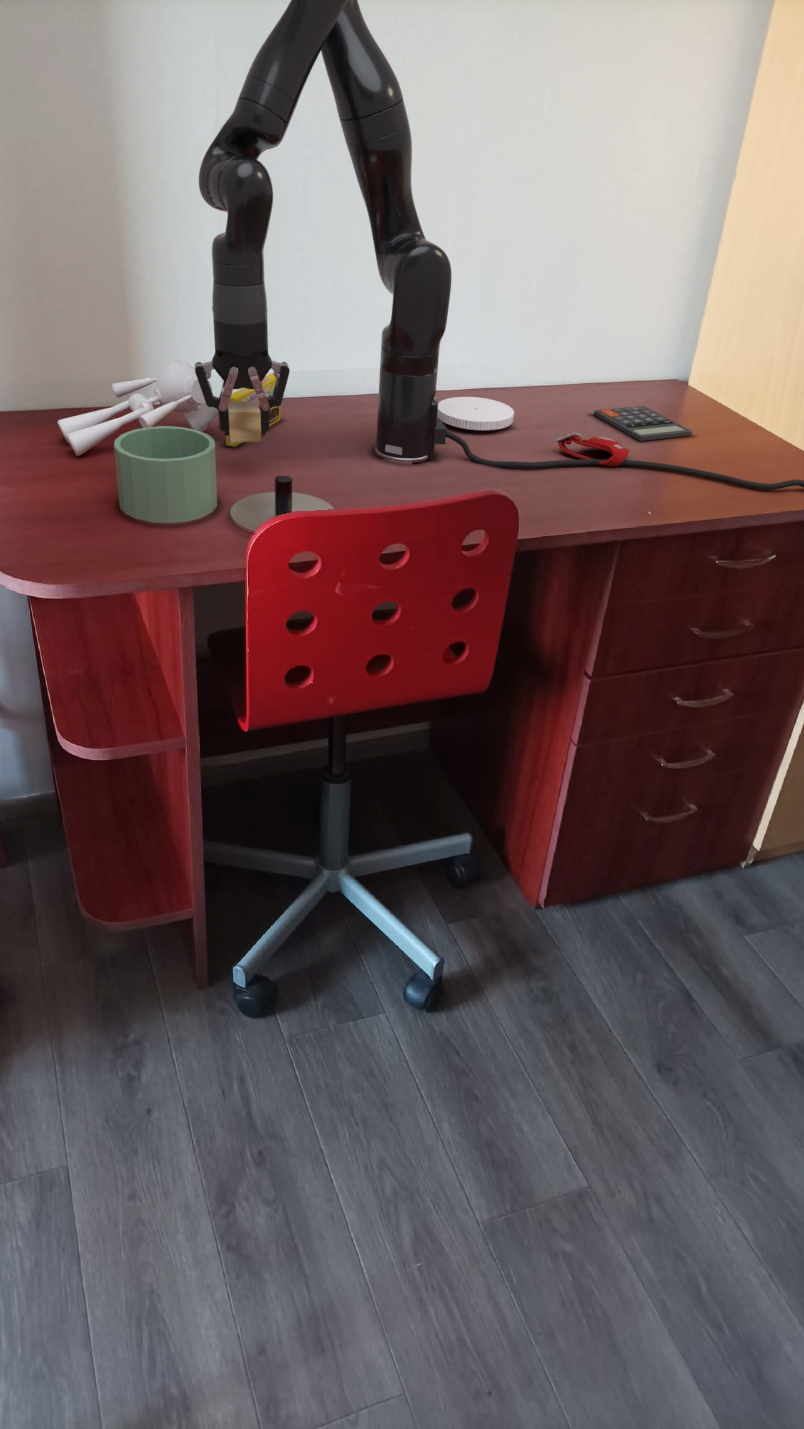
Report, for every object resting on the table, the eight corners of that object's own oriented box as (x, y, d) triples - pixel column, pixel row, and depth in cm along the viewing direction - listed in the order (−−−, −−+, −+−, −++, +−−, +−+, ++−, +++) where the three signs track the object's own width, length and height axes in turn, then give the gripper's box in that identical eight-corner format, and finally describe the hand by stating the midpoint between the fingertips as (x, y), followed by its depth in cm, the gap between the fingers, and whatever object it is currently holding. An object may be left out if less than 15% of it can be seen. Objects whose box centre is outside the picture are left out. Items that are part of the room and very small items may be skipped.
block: (259, 431, 158) (258, 401, 155) (261, 442, 154) (260, 411, 152) (228, 431, 157) (227, 401, 154) (230, 442, 153) (228, 411, 151)
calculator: (643, 404, 201) (692, 430, 190) (643, 409, 202) (691, 435, 191) (594, 409, 197) (641, 435, 186) (593, 414, 197) (640, 441, 186)
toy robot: (103, 505, 163) (245, 440, 169) (69, 435, 155) (219, 369, 160) (75, 464, 177) (207, 405, 182) (42, 397, 168) (181, 337, 174)
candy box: (236, 448, 170) (235, 398, 166) (225, 446, 171) (223, 396, 166) (282, 421, 183) (282, 373, 178) (271, 418, 184) (271, 371, 179)
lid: (329, 498, 156) (330, 459, 152) (342, 541, 144) (343, 499, 140) (228, 499, 153) (227, 459, 150) (232, 543, 141) (231, 500, 137)
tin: (215, 488, 156) (213, 426, 151) (218, 526, 145) (216, 460, 140) (122, 488, 154) (116, 425, 148) (118, 527, 143) (111, 461, 137)
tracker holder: (613, 439, 183) (644, 445, 174) (606, 465, 184) (637, 472, 175) (554, 426, 178) (583, 432, 169) (547, 453, 179) (577, 459, 170)
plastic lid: (525, 422, 191) (527, 408, 190) (489, 441, 181) (491, 427, 180) (459, 405, 197) (461, 391, 196) (421, 423, 187) (422, 409, 186)
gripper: (188, 321, 141) (196, 443, 151) (293, 322, 144) (295, 441, 154) (187, 308, 147) (195, 425, 157) (288, 308, 150) (290, 424, 160)
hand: (244, 433), depth 155 cm, fingers closed on block, 4 cm apart
